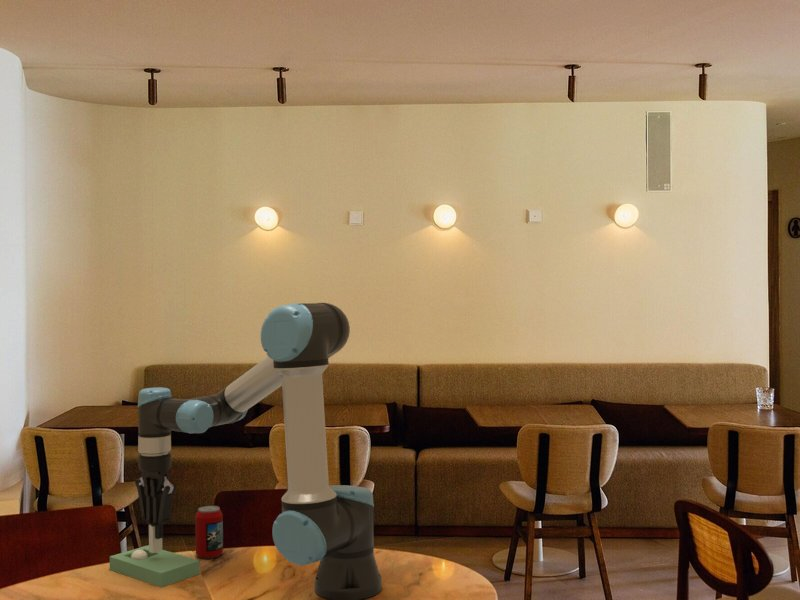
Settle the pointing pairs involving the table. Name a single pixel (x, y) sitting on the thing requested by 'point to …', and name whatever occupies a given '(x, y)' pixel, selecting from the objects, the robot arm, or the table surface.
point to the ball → (139, 555)
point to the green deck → (155, 566)
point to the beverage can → (209, 532)
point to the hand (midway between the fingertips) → (155, 551)
